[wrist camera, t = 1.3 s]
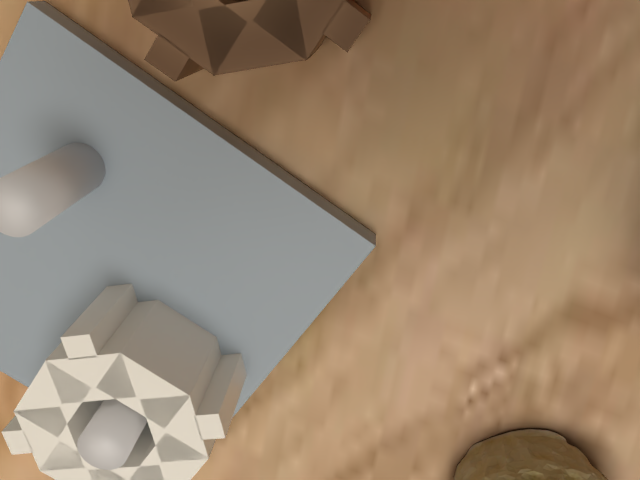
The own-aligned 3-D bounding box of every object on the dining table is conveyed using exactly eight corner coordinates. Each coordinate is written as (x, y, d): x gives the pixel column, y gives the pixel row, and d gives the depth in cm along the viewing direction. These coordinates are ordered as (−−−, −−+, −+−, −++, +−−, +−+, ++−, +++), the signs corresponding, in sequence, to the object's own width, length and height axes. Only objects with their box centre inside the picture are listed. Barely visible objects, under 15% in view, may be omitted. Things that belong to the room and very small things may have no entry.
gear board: (44, 1, 28) (-67, 4, 21) (375, 234, 30) (375, 305, 24) (-92, 292, 34) (-210, 368, 27) (189, 459, 37) (146, 566, 30)
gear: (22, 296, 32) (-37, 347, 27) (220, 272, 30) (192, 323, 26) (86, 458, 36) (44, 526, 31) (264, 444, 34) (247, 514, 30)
